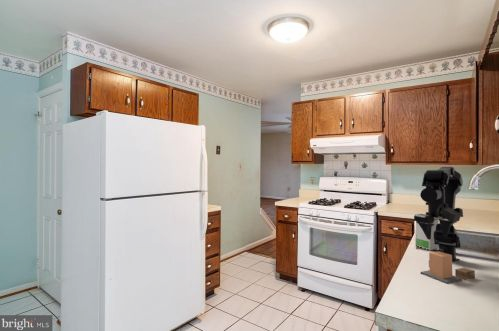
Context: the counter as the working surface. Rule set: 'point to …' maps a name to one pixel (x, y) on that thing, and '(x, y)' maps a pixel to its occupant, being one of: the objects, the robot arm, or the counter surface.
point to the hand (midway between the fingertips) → (437, 238)
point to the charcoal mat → (445, 280)
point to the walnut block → (465, 273)
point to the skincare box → (422, 239)
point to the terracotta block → (440, 264)
